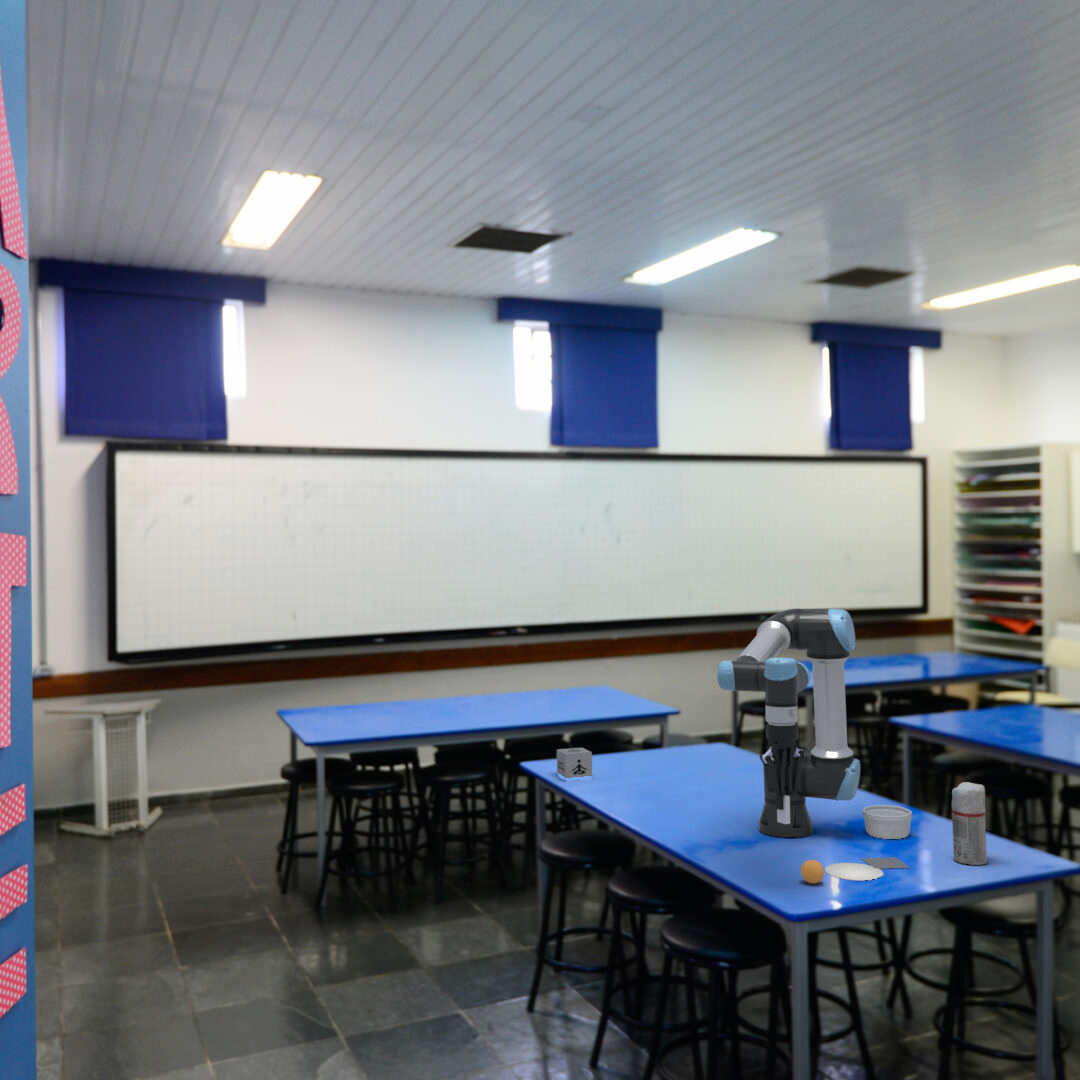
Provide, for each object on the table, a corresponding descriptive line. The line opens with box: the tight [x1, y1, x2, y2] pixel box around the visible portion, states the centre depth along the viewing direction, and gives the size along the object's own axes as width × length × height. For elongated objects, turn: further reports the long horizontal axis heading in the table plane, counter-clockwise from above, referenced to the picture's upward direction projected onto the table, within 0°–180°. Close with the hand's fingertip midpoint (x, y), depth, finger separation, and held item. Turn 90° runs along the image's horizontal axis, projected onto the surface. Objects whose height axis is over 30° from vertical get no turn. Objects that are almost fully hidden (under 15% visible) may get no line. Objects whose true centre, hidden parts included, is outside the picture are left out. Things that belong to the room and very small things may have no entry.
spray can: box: [951, 781, 988, 866], centre depth 262 cm, size 8×8×20 cm
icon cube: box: [556, 747, 593, 778], centre depth 369 cm, size 10×10×10 cm
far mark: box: [861, 856, 910, 870], centre depth 261 cm, size 9×9×1 cm
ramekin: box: [862, 804, 913, 840], centre depth 288 cm, size 13×13×7 cm
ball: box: [800, 859, 825, 884], centre depth 246 cm, size 6×6×6 cm
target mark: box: [824, 862, 884, 882], centre depth 254 cm, size 14×14×1 cm
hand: (783, 822), depth 241 cm, fingers closed
